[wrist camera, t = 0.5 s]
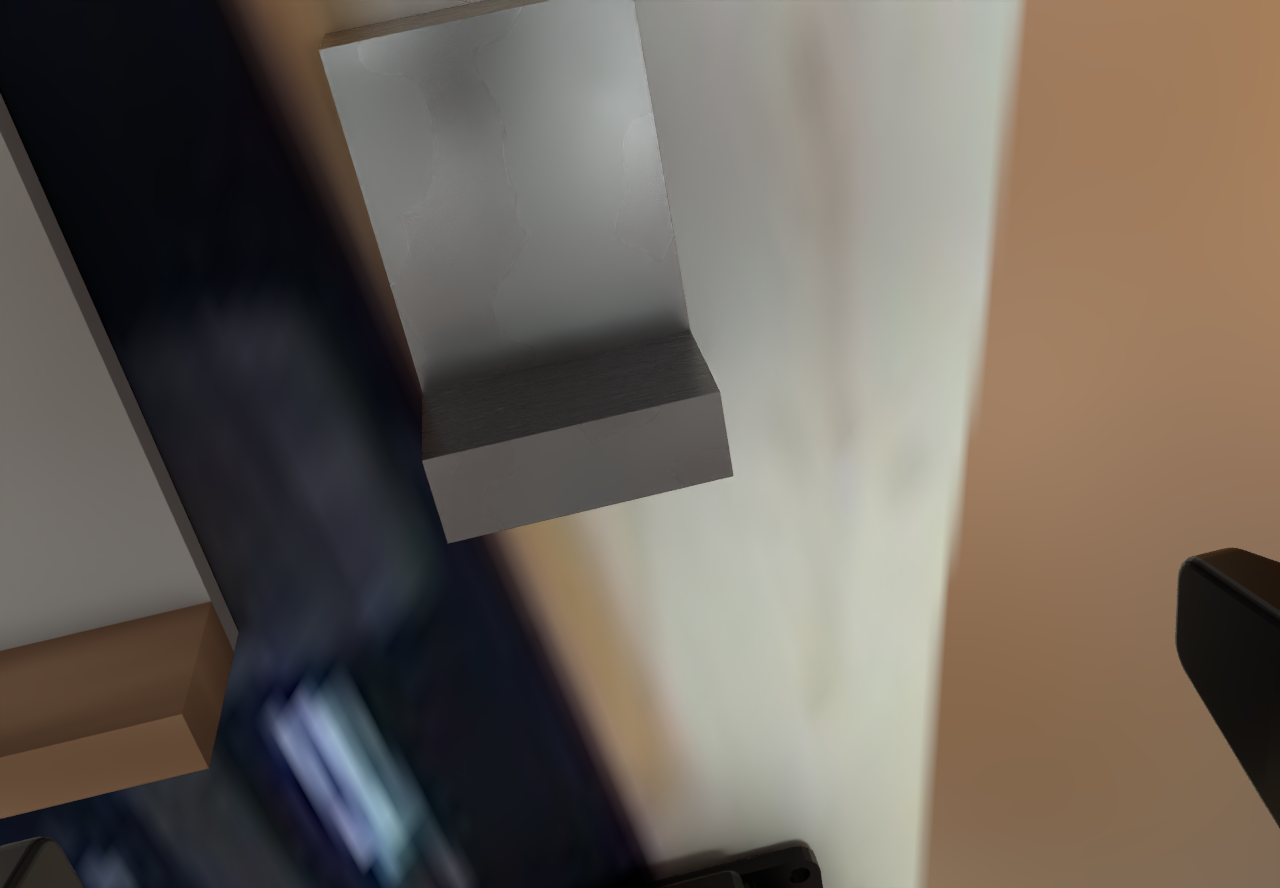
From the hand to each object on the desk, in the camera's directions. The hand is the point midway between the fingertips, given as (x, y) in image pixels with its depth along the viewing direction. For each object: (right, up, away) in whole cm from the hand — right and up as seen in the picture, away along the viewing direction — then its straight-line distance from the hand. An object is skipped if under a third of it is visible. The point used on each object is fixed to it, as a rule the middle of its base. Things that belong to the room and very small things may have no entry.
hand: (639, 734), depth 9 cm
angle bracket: (-2, +6, +11) cm, 12 cm away
